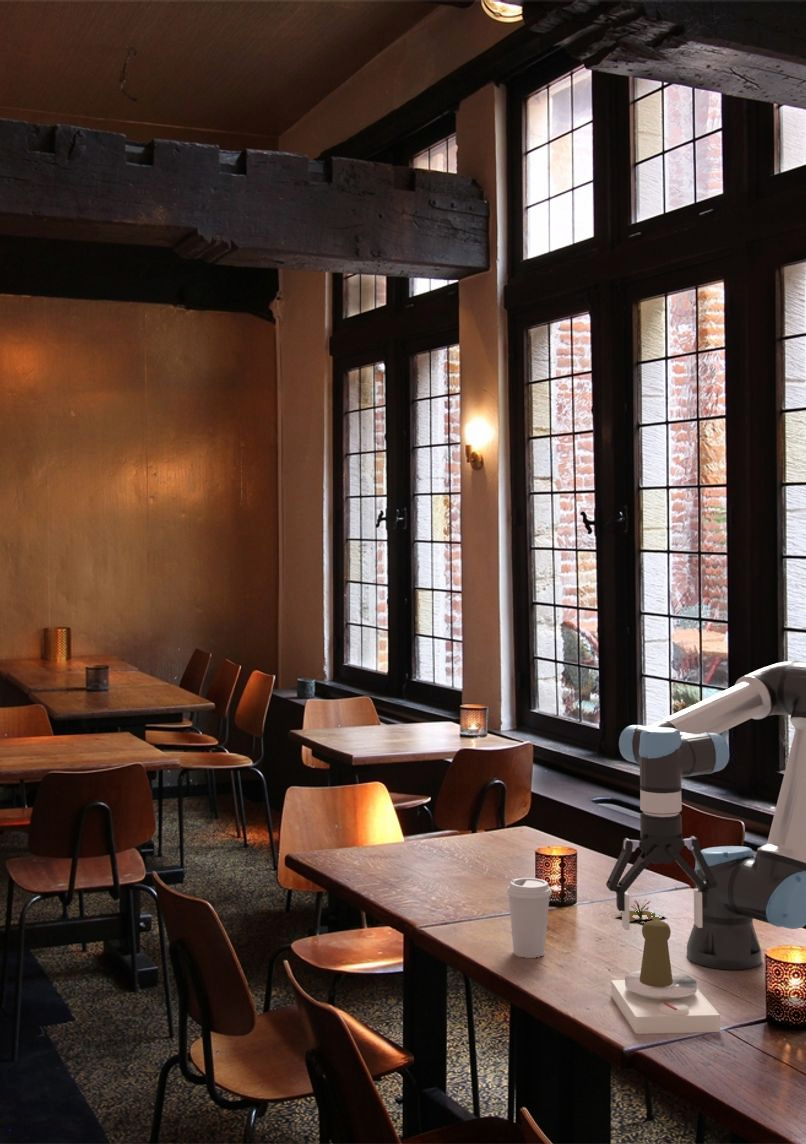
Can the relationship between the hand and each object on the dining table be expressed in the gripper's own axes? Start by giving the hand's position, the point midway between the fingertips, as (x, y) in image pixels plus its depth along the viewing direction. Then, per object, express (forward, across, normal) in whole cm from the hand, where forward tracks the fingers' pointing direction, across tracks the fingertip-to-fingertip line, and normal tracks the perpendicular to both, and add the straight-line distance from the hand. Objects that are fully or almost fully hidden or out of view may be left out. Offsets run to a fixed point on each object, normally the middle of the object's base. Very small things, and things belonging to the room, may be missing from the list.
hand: (662, 926), depth 229 cm
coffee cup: (+16, +20, -34) cm, 42 cm away
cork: (+10, +1, 0) cm, 10 cm away
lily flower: (+17, -11, -58) cm, 61 cm away
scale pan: (+11, 0, 0) cm, 11 cm away
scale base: (+15, 0, +2) cm, 15 cm away
